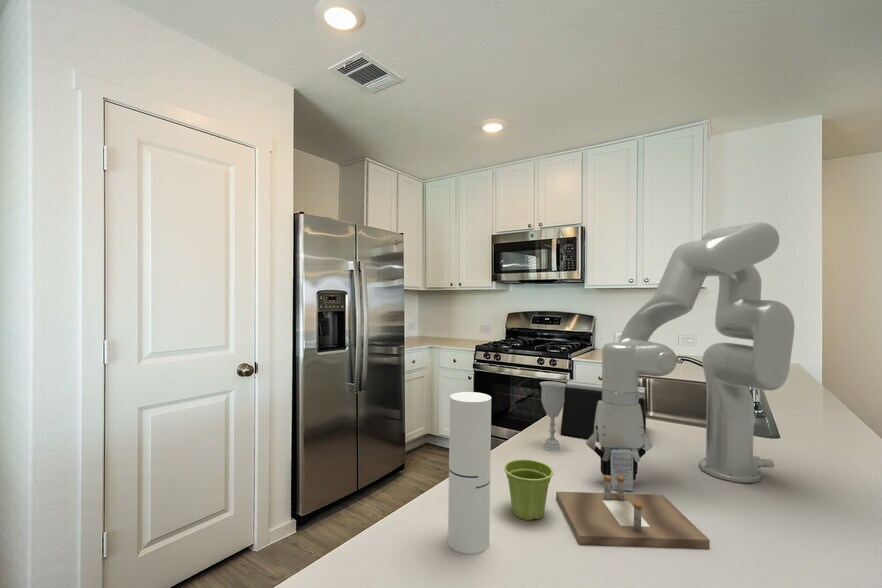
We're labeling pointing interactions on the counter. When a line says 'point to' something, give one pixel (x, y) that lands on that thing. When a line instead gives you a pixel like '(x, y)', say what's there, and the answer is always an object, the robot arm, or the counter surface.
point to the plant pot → (528, 487)
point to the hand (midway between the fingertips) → (618, 475)
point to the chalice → (552, 409)
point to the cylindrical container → (469, 472)
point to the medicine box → (621, 467)
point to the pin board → (628, 519)
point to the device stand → (586, 408)
